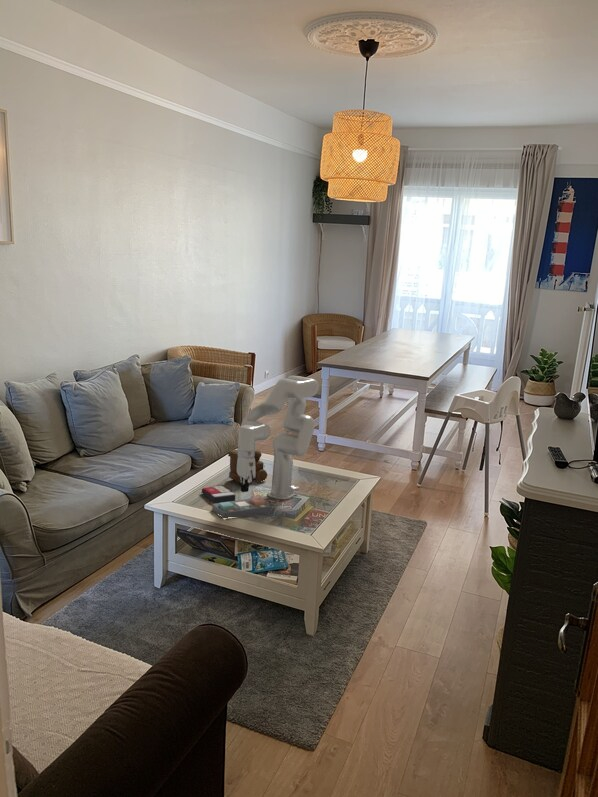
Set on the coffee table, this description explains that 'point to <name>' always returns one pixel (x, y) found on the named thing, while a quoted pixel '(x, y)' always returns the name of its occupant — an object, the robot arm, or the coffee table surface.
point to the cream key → (242, 504)
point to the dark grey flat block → (242, 509)
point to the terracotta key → (257, 501)
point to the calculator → (218, 494)
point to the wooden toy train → (260, 472)
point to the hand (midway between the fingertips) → (244, 491)
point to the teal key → (226, 506)
